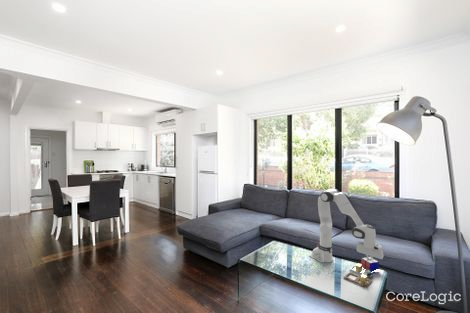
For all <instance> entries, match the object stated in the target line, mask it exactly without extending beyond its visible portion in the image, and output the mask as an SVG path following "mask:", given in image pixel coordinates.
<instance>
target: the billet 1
mask: <svg viewBox="0 0 470 313" xmlns="http://www.w3.org/2000/svg"><path fill="white" fill-rule="evenodd" d="M355 266H356V271H357V272H361V271H362V265H361V263H356V265H355Z"/></svg>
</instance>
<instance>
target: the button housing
mask: <svg viewBox="0 0 470 313" xmlns="http://www.w3.org/2000/svg"><path fill="white" fill-rule="evenodd" d="M365 275H367V279H369V280H372V279H373V278H374V273H370V274H368V273H367V272H366V273H365ZM372 277H373V278H372Z"/></svg>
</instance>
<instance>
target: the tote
mask: <svg viewBox="0 0 470 313" xmlns="http://www.w3.org/2000/svg"><path fill="white" fill-rule="evenodd" d="M354 267H356V265H352V266H351V267H350V268H349V272H351V271H352V272H351V273H354V272H355V273H354V274H357V273H358V274H357V275H359V274H360V275H359V276H361V275H362V273H360V272H357V271H354V270H352V269H353V268H354ZM363 270H364V269H363ZM366 272H367V270H365V272H364V273H363V274H364V275H365V273H366Z"/></svg>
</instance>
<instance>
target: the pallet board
mask: <svg viewBox="0 0 470 313" xmlns="http://www.w3.org/2000/svg"><path fill="white" fill-rule="evenodd" d="M350 275H351V276H354V277H356V278H354V279H353V278H350V277H349V276H350ZM360 276H361V275H359V274H357V273H354V272H351V271H349V272H347V273H346V274H345V275H344V276H343V279H344V280H347V281H349V282H351V283H353V284H355V285H358V286H360V287H362V288H364V289H368V287H369V286H370V285H371V284H372V283H373V280H372V279H369V278H367V283H366V284H362V283H360Z"/></svg>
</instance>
